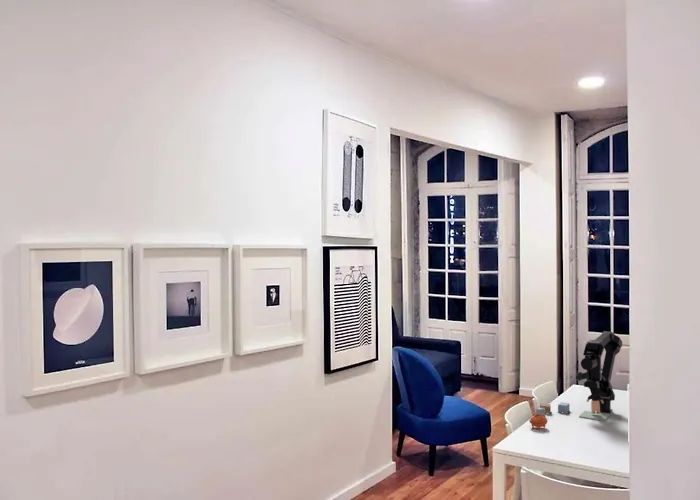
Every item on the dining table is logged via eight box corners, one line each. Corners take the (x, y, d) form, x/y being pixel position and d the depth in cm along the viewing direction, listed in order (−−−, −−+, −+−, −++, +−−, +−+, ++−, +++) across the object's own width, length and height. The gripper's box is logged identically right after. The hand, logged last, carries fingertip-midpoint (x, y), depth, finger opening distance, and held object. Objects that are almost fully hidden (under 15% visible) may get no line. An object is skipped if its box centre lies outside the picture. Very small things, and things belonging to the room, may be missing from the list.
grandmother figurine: (601, 412, 304) (601, 386, 304) (604, 414, 300) (604, 388, 300) (585, 411, 305) (585, 386, 305) (587, 413, 301) (587, 387, 301)
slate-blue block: (561, 410, 315) (561, 402, 315) (569, 411, 313) (569, 403, 313) (558, 412, 310) (558, 404, 310) (566, 413, 308) (566, 405, 308)
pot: (550, 430, 278) (546, 415, 278) (532, 433, 280) (528, 419, 280) (548, 424, 286) (544, 410, 286) (530, 428, 288) (527, 413, 288)
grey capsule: (537, 415, 305) (537, 407, 305) (546, 416, 303) (546, 408, 303) (534, 417, 301) (534, 409, 301) (543, 418, 299) (543, 410, 299)
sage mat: (584, 411, 311) (584, 410, 311) (610, 415, 304) (610, 414, 304) (579, 417, 301) (579, 416, 301) (605, 421, 294) (605, 419, 294)
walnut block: (540, 411, 313) (540, 403, 313) (550, 411, 312) (550, 404, 312) (539, 413, 308) (539, 405, 308) (550, 414, 307) (550, 406, 307)
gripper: (581, 362, 315) (582, 392, 315) (572, 368, 299) (572, 400, 299) (605, 364, 309) (605, 395, 309) (597, 370, 293) (597, 403, 293)
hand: (594, 398), depth 303 cm, fingers closed on grandmother figurine, 3 cm apart
